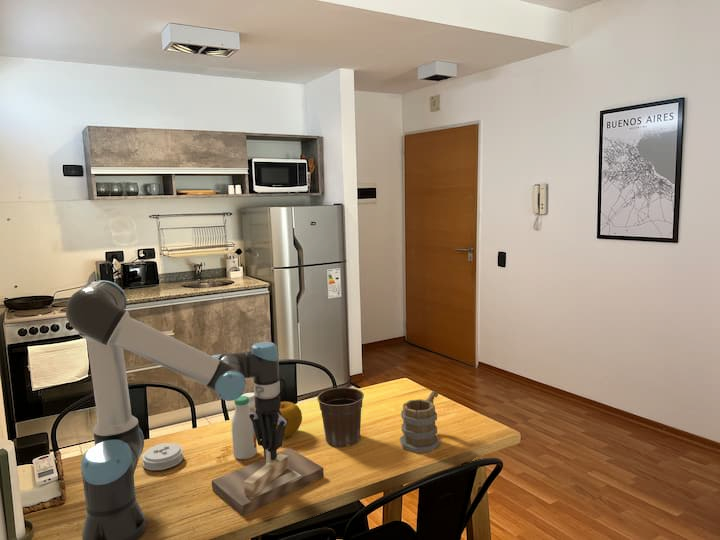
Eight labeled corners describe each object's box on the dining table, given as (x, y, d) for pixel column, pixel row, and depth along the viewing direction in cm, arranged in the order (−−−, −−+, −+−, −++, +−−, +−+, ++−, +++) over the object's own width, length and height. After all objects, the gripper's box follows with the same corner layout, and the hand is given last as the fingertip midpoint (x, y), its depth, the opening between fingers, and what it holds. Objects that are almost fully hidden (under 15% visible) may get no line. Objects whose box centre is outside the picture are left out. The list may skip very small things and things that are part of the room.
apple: (269, 445, 185) (267, 413, 184) (265, 429, 198) (263, 400, 196) (305, 439, 189) (304, 408, 187) (299, 424, 201) (298, 395, 199)
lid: (186, 451, 183) (185, 438, 182) (180, 470, 171) (178, 456, 170) (147, 455, 181) (146, 442, 180) (138, 475, 169) (137, 460, 168)
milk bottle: (251, 461, 175) (247, 403, 172) (229, 459, 176) (225, 402, 173) (260, 449, 182) (256, 394, 179) (239, 448, 184) (235, 393, 181)
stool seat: (242, 515, 145) (242, 505, 145) (212, 489, 158) (211, 480, 158) (323, 476, 163) (323, 467, 163) (290, 456, 177) (289, 447, 176)
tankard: (426, 456, 174) (425, 413, 171) (394, 446, 181) (392, 404, 179) (454, 433, 189) (454, 393, 187) (423, 424, 197) (423, 386, 195)
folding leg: (253, 497, 148) (252, 483, 148) (244, 494, 149) (243, 481, 149) (288, 467, 163) (287, 455, 162) (280, 465, 164) (279, 453, 164)
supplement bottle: (252, 422, 204) (249, 390, 202) (263, 426, 200) (261, 393, 198) (238, 428, 199) (235, 395, 197) (249, 433, 195) (247, 399, 193)
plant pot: (313, 448, 182) (310, 403, 179) (327, 427, 197) (325, 386, 195) (359, 452, 178) (357, 406, 176) (369, 430, 193) (368, 388, 191)
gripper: (241, 395, 157) (246, 469, 161) (277, 402, 151) (281, 479, 155) (258, 386, 164) (261, 458, 167) (292, 393, 158) (295, 467, 161)
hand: (271, 468), depth 161 cm, fingers closed
